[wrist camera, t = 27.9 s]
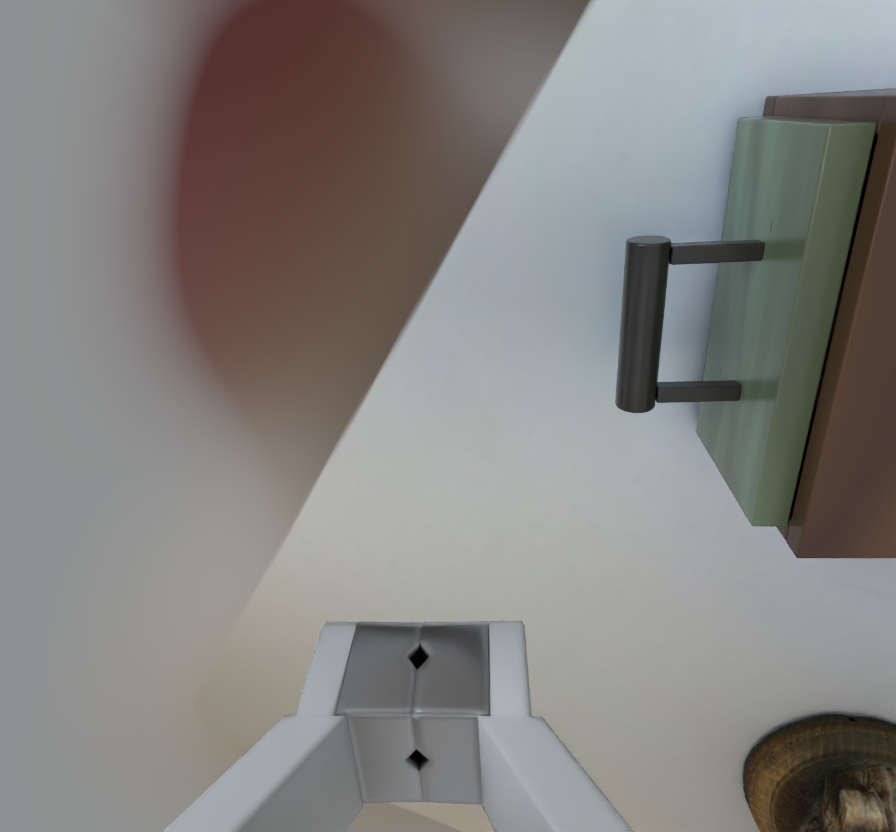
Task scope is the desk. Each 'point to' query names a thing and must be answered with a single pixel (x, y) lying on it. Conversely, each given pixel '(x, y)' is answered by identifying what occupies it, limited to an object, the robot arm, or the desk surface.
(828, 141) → the drawer
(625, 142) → the desk surface
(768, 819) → the owl figurine
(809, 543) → the cabinet
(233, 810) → the robot arm
